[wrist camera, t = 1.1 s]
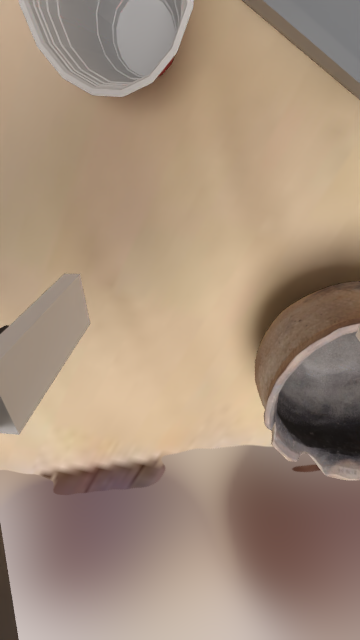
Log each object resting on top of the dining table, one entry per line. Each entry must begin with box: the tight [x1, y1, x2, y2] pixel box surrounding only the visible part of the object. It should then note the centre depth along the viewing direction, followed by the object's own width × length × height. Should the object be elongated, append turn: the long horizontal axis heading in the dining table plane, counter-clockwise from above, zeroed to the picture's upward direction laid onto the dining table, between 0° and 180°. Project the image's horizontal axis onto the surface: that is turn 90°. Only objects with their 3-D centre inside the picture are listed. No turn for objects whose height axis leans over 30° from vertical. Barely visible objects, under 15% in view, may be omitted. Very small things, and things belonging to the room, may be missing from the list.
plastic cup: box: [19, 0, 194, 97], centre depth 21 cm, size 11×11×12 cm
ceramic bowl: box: [255, 281, 360, 480], centre depth 34 cm, size 22×22×15 cm
